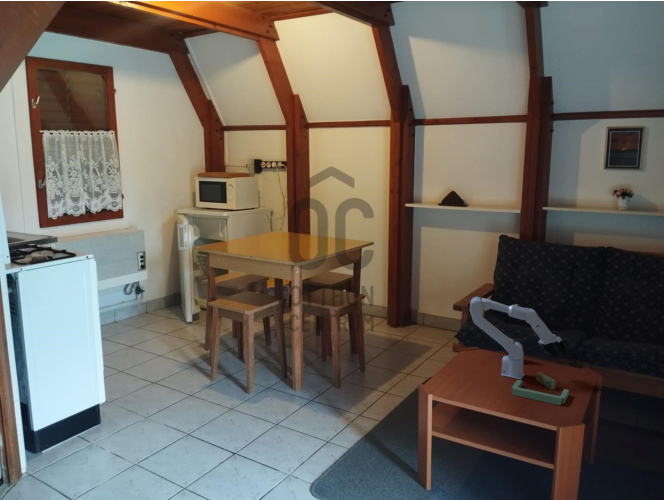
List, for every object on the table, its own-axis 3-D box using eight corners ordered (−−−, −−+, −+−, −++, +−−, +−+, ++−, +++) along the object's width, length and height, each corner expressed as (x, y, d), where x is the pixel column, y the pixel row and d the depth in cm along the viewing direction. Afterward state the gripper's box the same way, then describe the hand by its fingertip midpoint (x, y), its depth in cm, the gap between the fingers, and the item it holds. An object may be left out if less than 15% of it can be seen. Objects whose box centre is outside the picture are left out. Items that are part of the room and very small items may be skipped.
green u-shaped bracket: (510, 394, 243) (510, 387, 243) (517, 384, 255) (517, 378, 254) (563, 406, 232) (563, 399, 232) (568, 395, 243) (568, 388, 243)
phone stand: (520, 364, 282) (521, 341, 280) (508, 362, 284) (509, 340, 283) (521, 358, 290) (523, 336, 288) (510, 357, 293) (511, 335, 291)
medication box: (555, 389, 250) (556, 381, 250) (550, 389, 250) (551, 381, 249) (540, 379, 262) (540, 371, 261) (535, 380, 261) (535, 372, 261)
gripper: (557, 324, 254) (575, 348, 254) (538, 328, 268) (556, 350, 267) (548, 334, 252) (566, 358, 251) (529, 337, 266) (547, 359, 265)
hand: (560, 355), depth 259 cm, fingers open, 7 cm apart
